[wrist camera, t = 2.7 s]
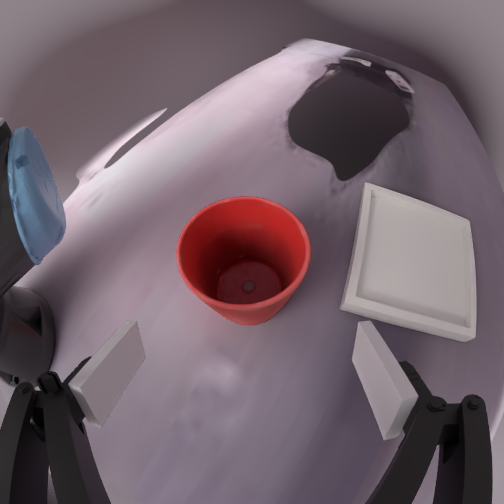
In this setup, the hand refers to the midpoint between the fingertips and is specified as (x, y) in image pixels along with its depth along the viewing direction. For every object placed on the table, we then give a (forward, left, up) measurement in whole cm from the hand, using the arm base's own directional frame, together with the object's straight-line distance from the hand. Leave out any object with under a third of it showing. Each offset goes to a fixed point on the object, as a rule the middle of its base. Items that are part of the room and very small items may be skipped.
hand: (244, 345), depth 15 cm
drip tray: (+15, +18, -12) cm, 27 cm away
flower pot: (-4, +8, -13) cm, 15 cm away
